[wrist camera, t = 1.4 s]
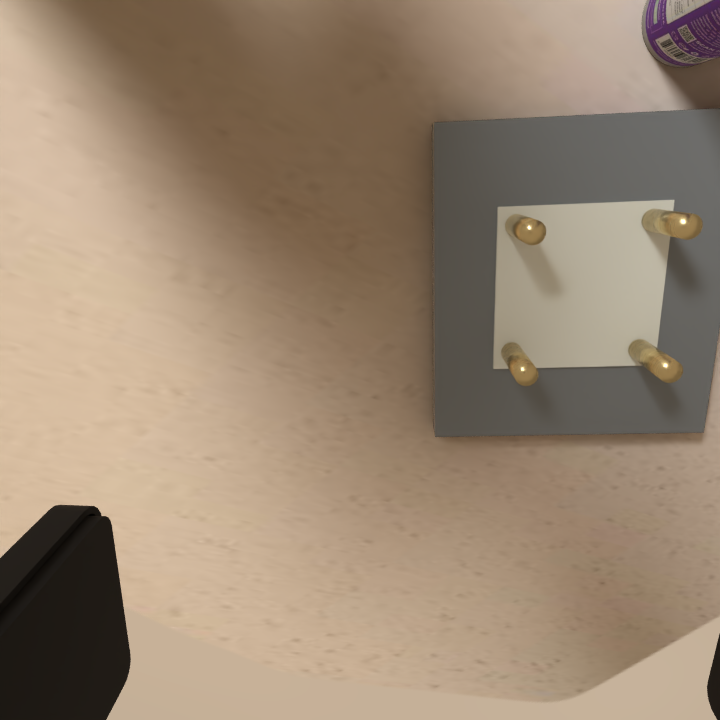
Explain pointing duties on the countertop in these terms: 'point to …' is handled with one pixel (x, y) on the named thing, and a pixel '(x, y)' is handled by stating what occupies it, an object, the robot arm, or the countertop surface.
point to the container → (682, 31)
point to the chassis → (574, 272)
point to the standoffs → (639, 349)
